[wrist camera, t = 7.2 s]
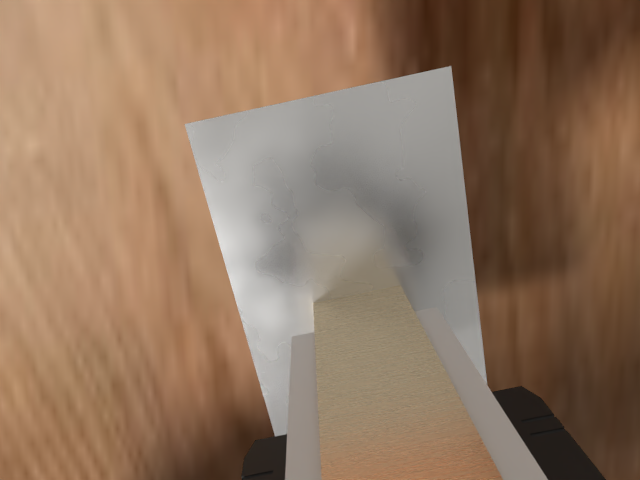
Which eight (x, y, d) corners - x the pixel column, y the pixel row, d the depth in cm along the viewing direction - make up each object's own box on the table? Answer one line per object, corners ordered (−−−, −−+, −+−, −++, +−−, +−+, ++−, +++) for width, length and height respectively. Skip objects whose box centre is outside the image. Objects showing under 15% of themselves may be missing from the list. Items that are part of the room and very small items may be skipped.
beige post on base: (489, 469, 19) (678, 847, 9) (301, 506, 19) (299, 911, 10) (441, 67, 14) (726, 3, 5) (192, 122, 14) (-27, 166, 5)
